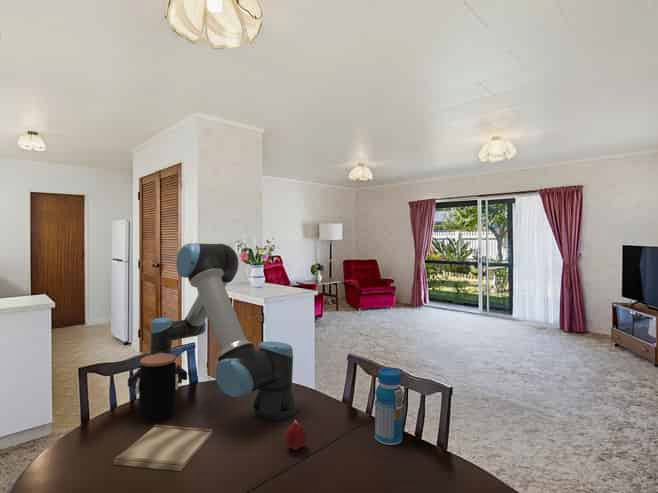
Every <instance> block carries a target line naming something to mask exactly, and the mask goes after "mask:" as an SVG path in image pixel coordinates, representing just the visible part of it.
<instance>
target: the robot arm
mask: <svg viewBox="0 0 658 493" xmlns="http://www.w3.org/2000/svg"><path fill="white" fill-rule="evenodd" d="M175 264H176V266H175V267H176V272H177V274H178V275H179V276H180V277H181V278H184V279H185V278H187V279H188V282H189V284H190V286H191V287H194V288H196V289H197V292H198V295H197V297H196V299H195V301H194V302H193V304H192V306H191V307H190V309H189V311H188V313H187V315H186V316H185V317H184V319H180V320H175V321H173V319H172V318H171V317H157V318H154V319H152V321H151V325H150V348H149V350H150V351H149V353H150V354H151V355H155V353H158V354H172V345H173V344H172V342H174V341H178V340H181V339H187V338H192V337H193V338H194V337H198V336H201V335H203V334H204V333H205V331H206V327H207V323H206V320H207V319H208V321H209V324H210V327H211V330H212V333H213V335H214V337H215V338H214V339H215V340H216V343H217V345H218V348H219V351H220V352H219V355H218V357H217V361H218V363H217V365H216V366H215V369H214V370H215V374H214V375H215V380H216V383H217V385H218V387H219V389H220V390H221V391H222V393H224V394H225V395H227V396H229V397H232V398H237V397H241V396H245V395H246V396H247V395H248V394H250V393H251V392H254V391H256V393H255V395H254V396H255V397H254V398H253V402H252V405H251V413H252V415H253V416H254V417H255V418H257V419H259V420H262V421H269V422H272V421H273V422H274V421H275V422H276V421H283V420H286V419H288V418H289V419H290V418H292V417H293V416H294V415H295V414H296V413H297V409H298V407H297V403H298V402H297V400H296V396H295V393H294V391H293V372H294V371H293V369H294V368H293V367H294V365H293V364H294V355H293V354H294V351H293V347H292V345H290V344H288V343H286V342H281V341H261V342H259V344H258V347H257V348H258V349H257V350H256V348H255V345H254V342H252V341H249V340H247V338H246V337H245V333H244V331H243V329H242V326H241V324H240V321H239V319H238V316H237V313H236V312H235V309H234V306H233V304H232V301H231V298H230V296H229V294H228V292H227V289H226V286H227V285H228V284H229V283H231V282H232V281H233V280H234V278H235V277H236V274H237V272H238V269H239V257H238V255H237V252H236V251H235V249H233V248H232V247H231V246H230V245H228V244H225V243H199V242H195V243H193V242H192V243H185V244H184V245H183V246H181V248H180V249H179V251H178V253H177V257H176V263H175ZM150 354H149V355H150ZM139 380H140V368H139V369H137V371H136V372H134V373H133V374H131V375H130V376H129V377H128V378H127V387H130V388H131V387H132V389H134V390H135V395H139V384H140V382H139ZM182 380H183V381H187V380H188V371H186V370H185V369H184V368H182V367H181V364H176V384H175V387H176V388H175V390H179V384H182V382H183V381H182Z"/></svg>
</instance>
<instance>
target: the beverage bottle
mask: <svg viewBox="0 0 658 493" xmlns="http://www.w3.org/2000/svg"><path fill="white" fill-rule="evenodd" d="M377 374H378V375H377V376H378V377H377V378H378V379H377V380H378V383H379V384H378V386H377V388H376V389H375V396H376V398H375V399H374V407H375V408H374V409H375V410H374V439H375V440H376V441H377V442H378V443H380V444H382V445H387V446H395V445H398V444H400V443H401V442H402V441H403V420H404V419H403V418H404V417H403V416H404V406H405V405H404V404H405V403H404V401H403V399H404V392H403V390H402V388H401V383H402V372H401V371H400V370H399V369H396V368H391V367H384V368H380V369H379V370H378V373H377Z"/></svg>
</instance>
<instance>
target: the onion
mask: <svg viewBox="0 0 658 493" xmlns="http://www.w3.org/2000/svg"><path fill="white" fill-rule="evenodd" d="M284 438H285V442H286V444H287V445H288V446H289V447H290V448H291V449H292V450H294V451H297V450H299V449H300V448H301V447H303V446H304V445H305V442H306V440H307V431H306V429H305V428H304V426H303V425H302V424H300V423H299V422H298V420H295V419H294V421H293V423H292V424H291V425H289V427H288V428H286V432H285V436H284Z"/></svg>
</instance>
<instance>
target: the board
mask: <svg viewBox="0 0 658 493" xmlns="http://www.w3.org/2000/svg"><path fill="white" fill-rule="evenodd" d="M213 431H214V430H213V429H209V428H199V427H187V426H177V425H175V426H174V425H167V424H166V425H165V424H155V425H153V427H152V428H151V429H150V430H148V431H147V432H146V433H145V434H143V436H140V438H139V439H137V440H136V441H135V442H133V444H132V445H130V446H129V447H128V448H126V449H125V450H124V451H122V453H121V454H119V455H116V456H115V457H114V460H113V465H115V466H116V465H117V466H126V467H136V468H144V469H146V468H147V469H153V470H154V469H155V470H163V471H164V470H166V471H176V472H182V471H183V469H184V468H186V466H187V465H188V464H189V462H191V460H192V459H193V458H194V457H195V456H196V454H197V453H198V452H199V451H200V450H201V448H203V446H205V444H206V442H207V441H208V440H209V439H210V438H211V437H212V436H213Z"/></svg>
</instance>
